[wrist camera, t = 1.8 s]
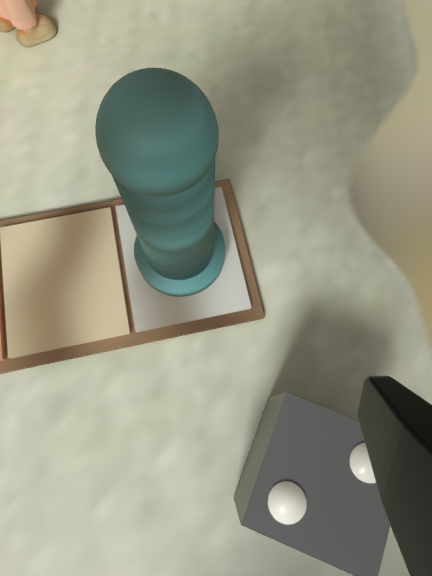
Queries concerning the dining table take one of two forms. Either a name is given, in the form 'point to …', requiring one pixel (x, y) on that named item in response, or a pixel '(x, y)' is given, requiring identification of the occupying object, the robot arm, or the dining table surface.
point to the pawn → (165, 176)
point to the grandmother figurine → (26, 22)
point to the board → (106, 285)
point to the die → (314, 486)
